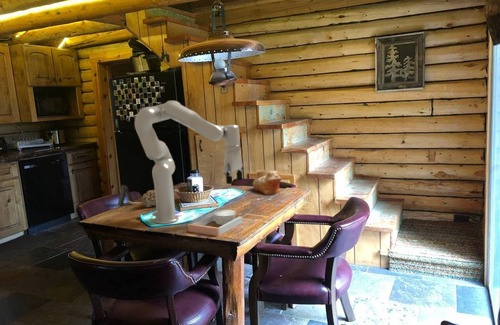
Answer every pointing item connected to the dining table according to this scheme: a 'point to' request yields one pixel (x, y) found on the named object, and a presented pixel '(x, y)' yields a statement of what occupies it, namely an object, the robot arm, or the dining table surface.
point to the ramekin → (224, 216)
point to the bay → (200, 228)
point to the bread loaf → (267, 182)
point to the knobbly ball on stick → (147, 199)
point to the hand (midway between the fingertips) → (234, 181)
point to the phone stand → (122, 196)
